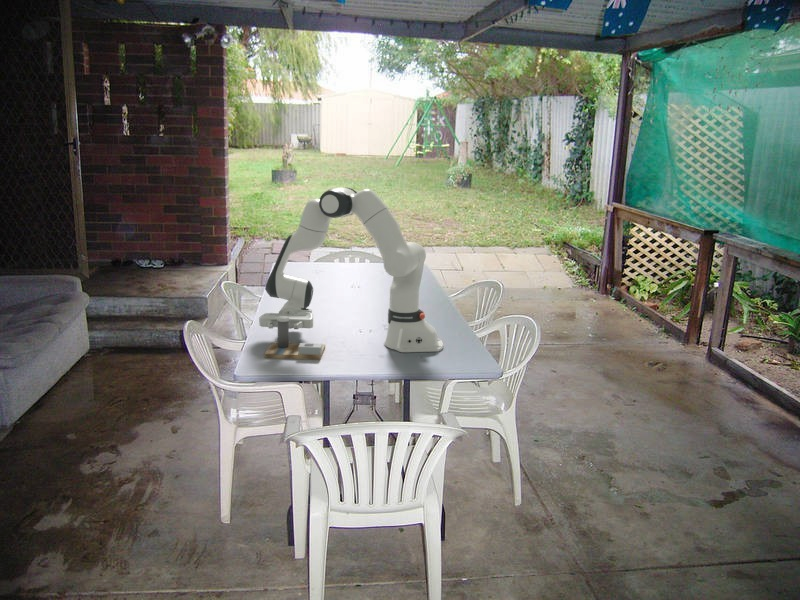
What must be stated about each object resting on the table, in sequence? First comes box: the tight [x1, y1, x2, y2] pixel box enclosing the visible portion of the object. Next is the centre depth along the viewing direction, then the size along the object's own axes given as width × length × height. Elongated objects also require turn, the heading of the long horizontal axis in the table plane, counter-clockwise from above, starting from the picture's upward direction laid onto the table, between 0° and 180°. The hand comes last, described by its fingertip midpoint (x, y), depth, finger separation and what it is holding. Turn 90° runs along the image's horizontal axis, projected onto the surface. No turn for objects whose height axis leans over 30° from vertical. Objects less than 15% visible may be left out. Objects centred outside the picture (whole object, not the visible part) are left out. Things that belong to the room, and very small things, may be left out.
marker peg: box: [277, 316, 290, 348], centre depth 250 cm, size 4×4×11 cm
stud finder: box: [298, 342, 323, 355], centre depth 245 cm, size 8×4×3 cm, turn 89°
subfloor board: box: [264, 342, 326, 361], centre depth 249 cm, size 20×13×2 cm, turn 89°
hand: (283, 326), depth 250 cm, fingers open, 8 cm apart
